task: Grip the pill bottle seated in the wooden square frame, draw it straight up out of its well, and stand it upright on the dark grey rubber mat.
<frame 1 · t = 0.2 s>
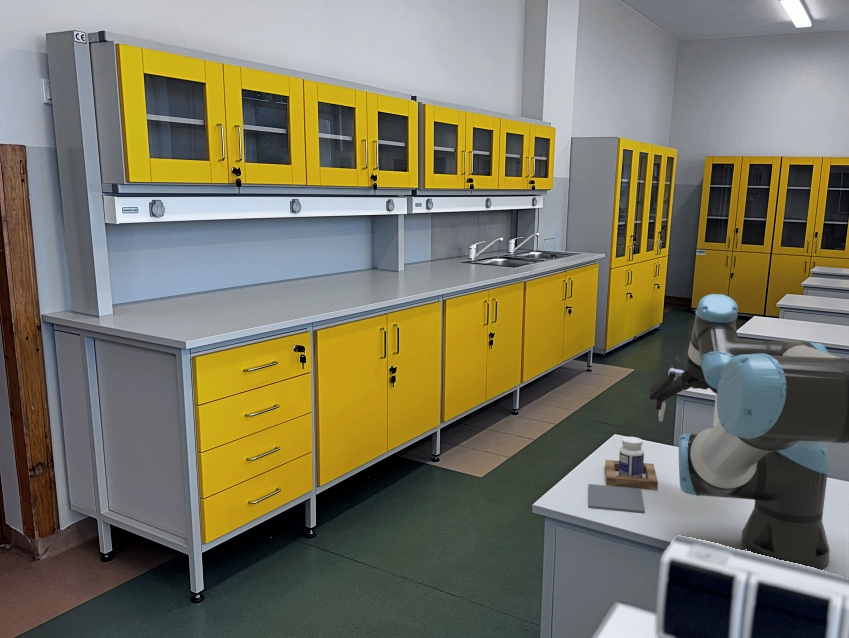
hand: (690, 420, 163), 16 cm above the lab bench, tool tilted 35°, fingers open, 13 cm apart
rubber mat: (615, 498, 158), on the lab bench
cylinder container: (730, 469, 176), on the lab bench
wooden square frame: (630, 478, 170), on the lab bench
pill bottle: (630, 479, 170), resting in wooden square frame
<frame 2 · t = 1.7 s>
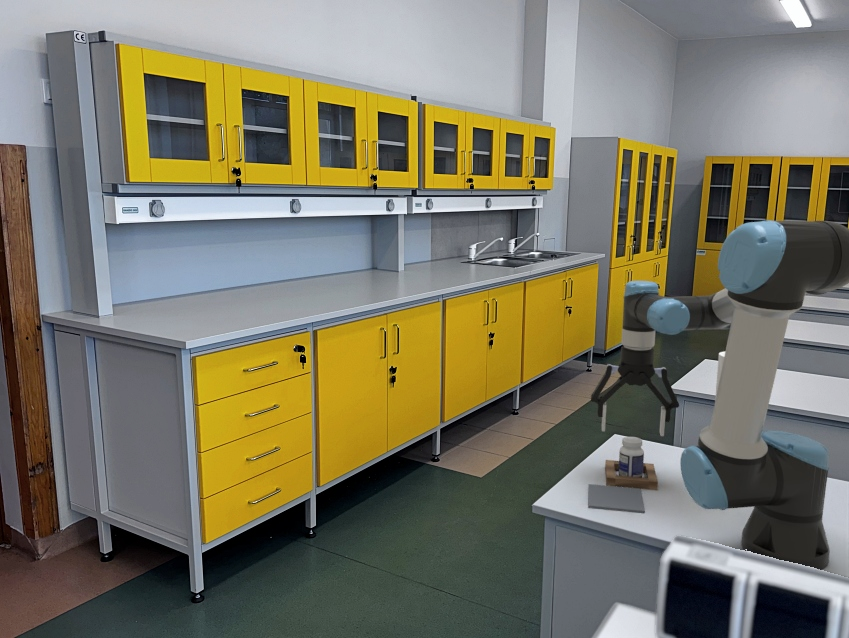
hand: (632, 432, 168), 12 cm above the lab bench, tool pointing down, fingers open, 13 cm apart
nothing on the lab bench moved.
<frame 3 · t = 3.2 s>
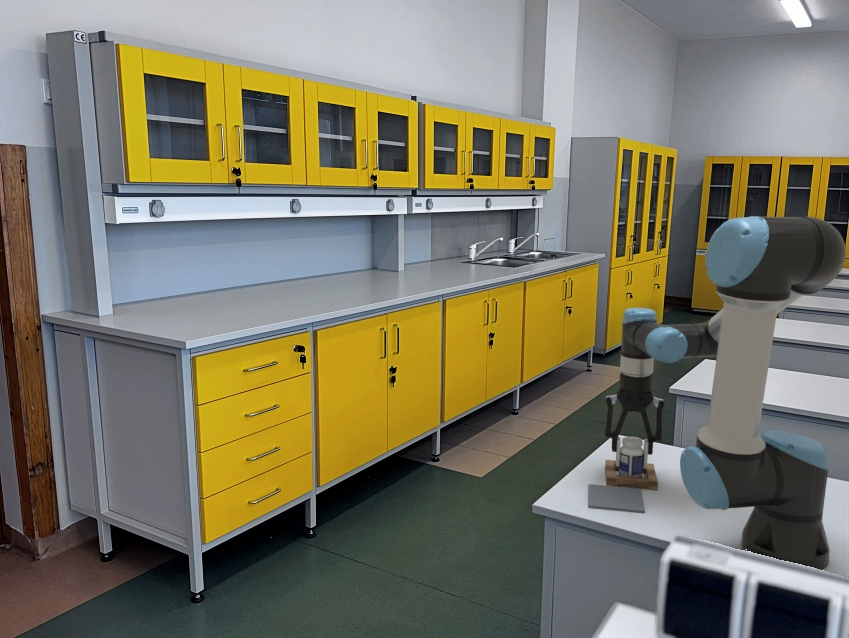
hand: (631, 465, 169), 3 cm above the lab bench, tool pointing down, fingers closed on pill bottle, 6 cm apart
pill bottle: (630, 479, 170), resting in wooden square frame, touching gripper
everything else where it was.
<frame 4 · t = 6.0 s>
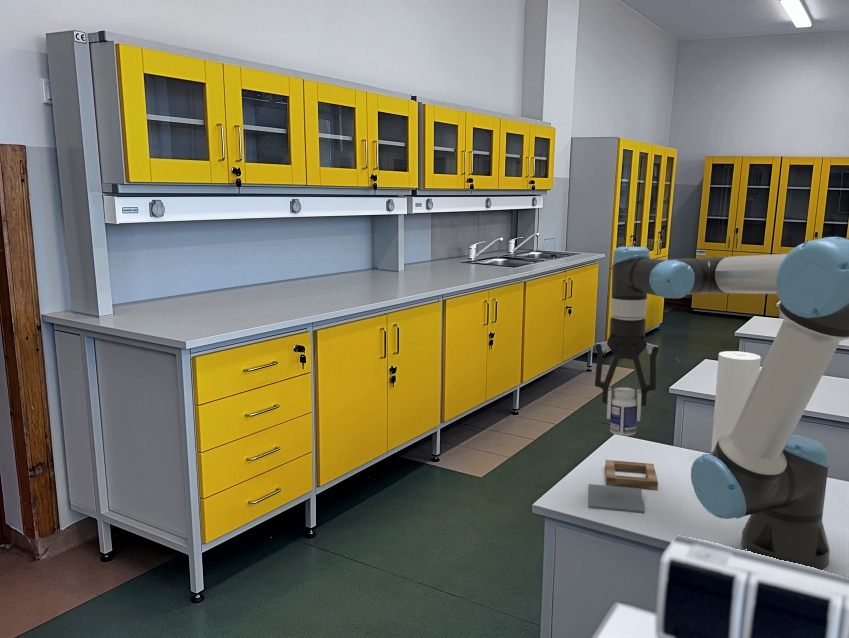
hand: (623, 418, 157), 19 cm above the lab bench, tool pointing down, fingers closed on pill bottle, 6 cm apart
pill bottle: (622, 433, 157), point 15 cm above the lab bench, touching gripper
everything else where it was.
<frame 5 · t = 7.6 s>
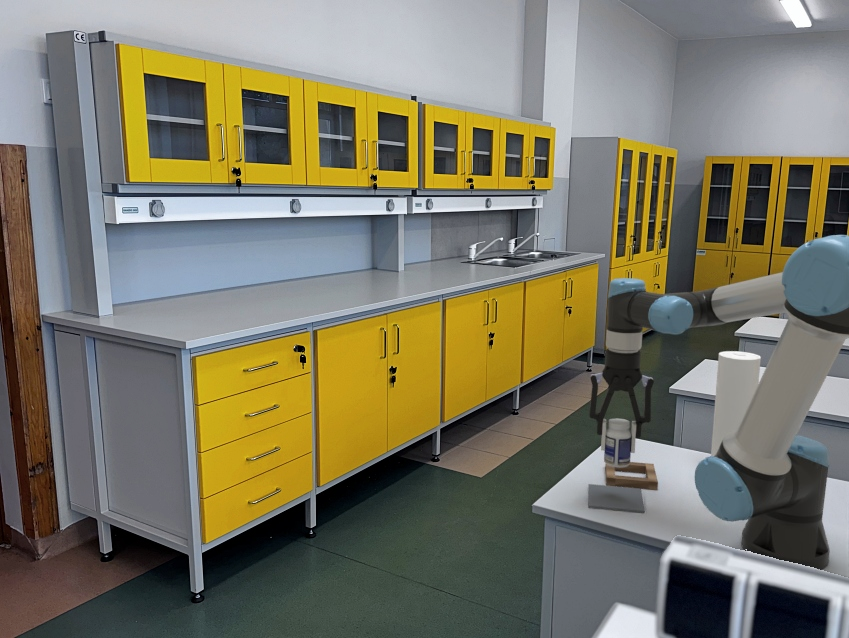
hand: (617, 449, 156), 12 cm above the lab bench, tool pointing down, fingers closed on pill bottle, 6 cm apart
pill bottle: (616, 464, 157), point 8 cm above the lab bench, touching gripper
everything else where it was.
when the fingers open (5 cm above the lab bench, at t = 9.1 s): pill bottle drops 1 cm, resting on rubber mat.
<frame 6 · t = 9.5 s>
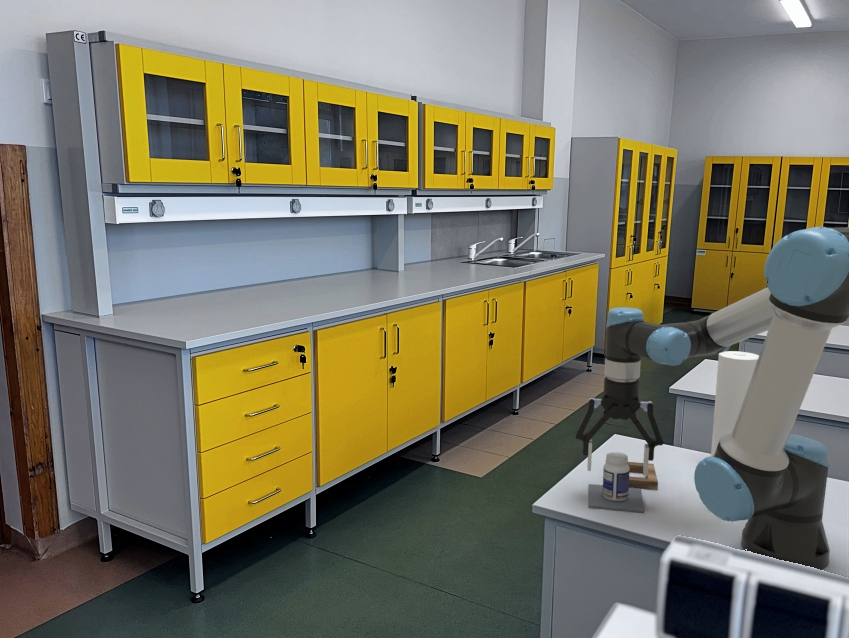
hand: (616, 471, 157), 7 cm above the lab bench, tool pointing down, fingers open, 11 cm apart
pill bottle: (615, 497, 158), resting on rubber mat
everything else where it was.
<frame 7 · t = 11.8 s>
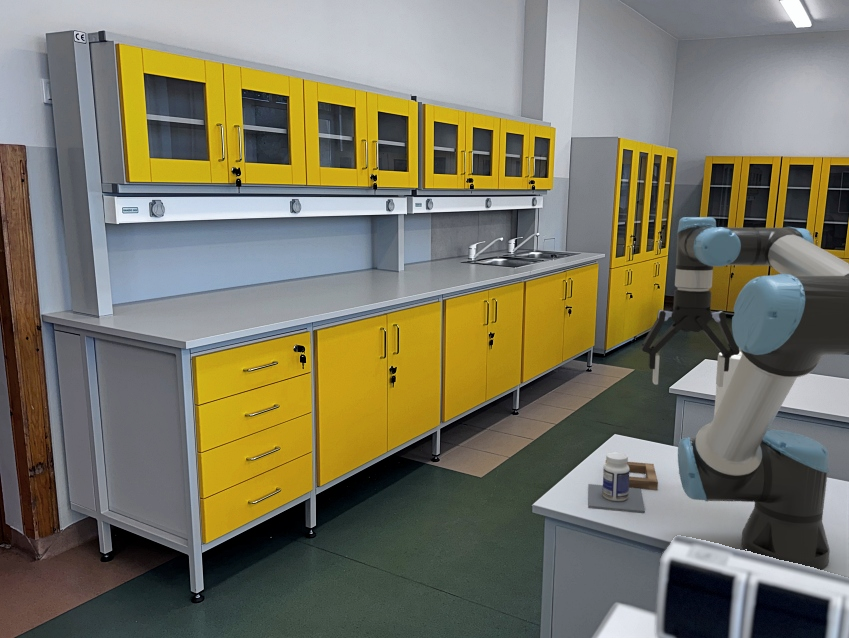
hand: (687, 384, 153), 27 cm above the lab bench, tool pointing down, fingers open, 13 cm apart
nothing on the lab bench moved.
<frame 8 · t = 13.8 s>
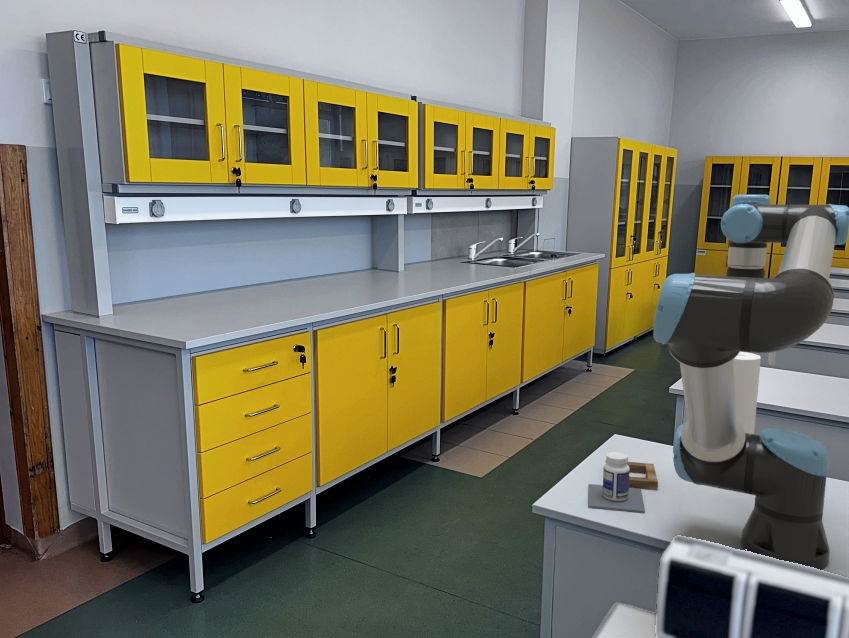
hand: (738, 362, 154), 32 cm above the lab bench, tool pointing down, fingers open, 13 cm apart
nothing on the lab bench moved.
at the end: pill bottle inside the target area on the rubber mat (0.1 cm from its centre), point 0.3 cm above the rubber mat's base; pill bottle tilted 0°; the gripper is holding nothing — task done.
